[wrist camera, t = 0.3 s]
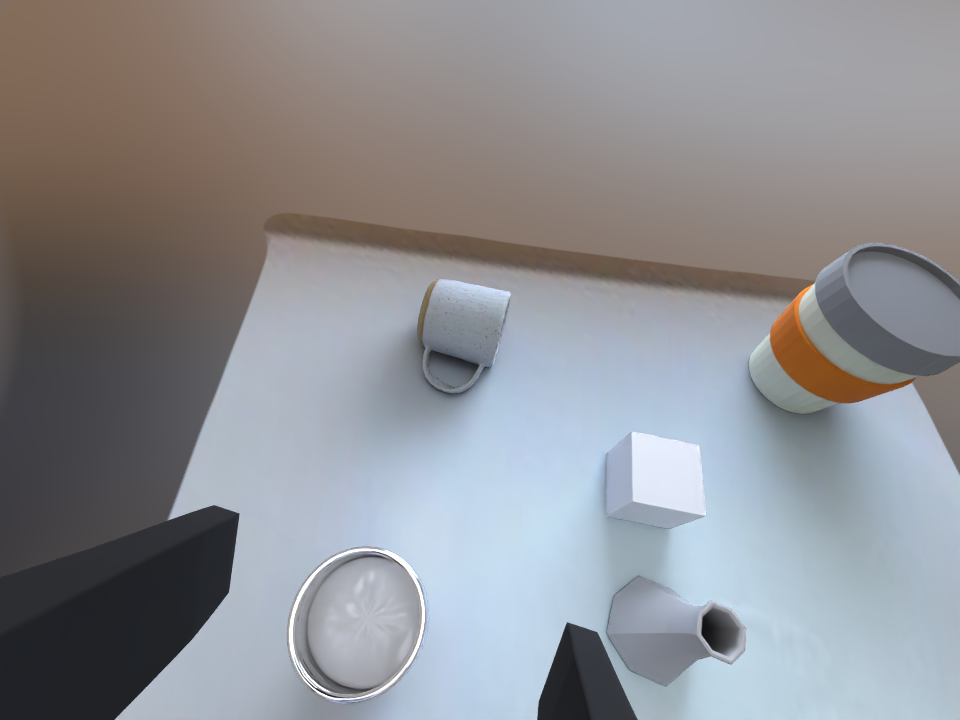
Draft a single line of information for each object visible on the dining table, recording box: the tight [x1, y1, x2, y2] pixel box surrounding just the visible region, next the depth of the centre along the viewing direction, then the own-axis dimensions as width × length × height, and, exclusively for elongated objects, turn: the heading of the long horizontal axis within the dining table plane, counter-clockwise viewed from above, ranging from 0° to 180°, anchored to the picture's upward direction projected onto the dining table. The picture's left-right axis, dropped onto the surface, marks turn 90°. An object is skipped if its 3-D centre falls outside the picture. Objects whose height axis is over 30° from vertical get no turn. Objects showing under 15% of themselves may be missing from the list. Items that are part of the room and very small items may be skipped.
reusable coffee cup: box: [749, 243, 960, 414], centre depth 44 cm, size 13×12×15 cm
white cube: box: [606, 431, 706, 529], centre depth 39 cm, size 6×6×6 cm
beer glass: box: [287, 546, 429, 704], centre depth 28 cm, size 7×7×15 cm
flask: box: [607, 576, 746, 686], centre depth 32 cm, size 7×7×10 cm
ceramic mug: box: [417, 280, 511, 393], centre depth 44 cm, size 11×8×8 cm
